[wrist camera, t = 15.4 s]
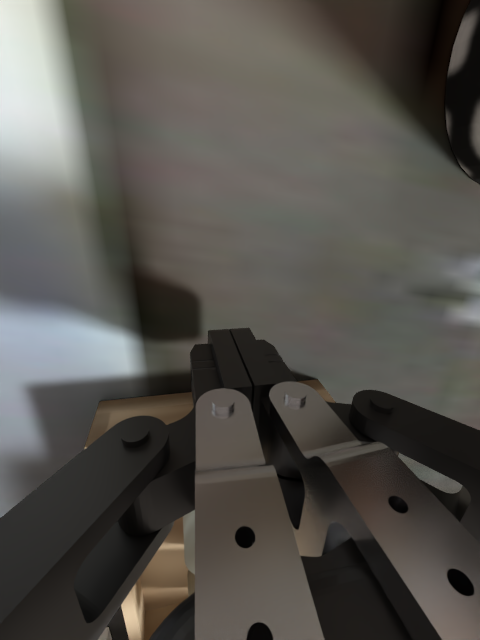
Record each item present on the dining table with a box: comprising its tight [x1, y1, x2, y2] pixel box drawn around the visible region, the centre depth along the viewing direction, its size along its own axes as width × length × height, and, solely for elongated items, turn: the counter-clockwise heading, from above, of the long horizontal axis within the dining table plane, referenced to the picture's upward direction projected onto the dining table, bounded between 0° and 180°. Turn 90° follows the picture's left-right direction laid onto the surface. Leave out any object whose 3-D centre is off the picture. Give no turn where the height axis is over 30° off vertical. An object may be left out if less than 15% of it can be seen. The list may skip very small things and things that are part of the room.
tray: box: [84, 379, 336, 640], centre depth 13 cm, size 16×10×8 cm, turn 178°
